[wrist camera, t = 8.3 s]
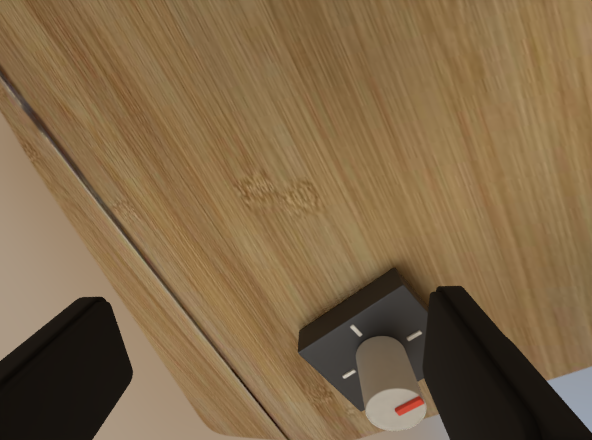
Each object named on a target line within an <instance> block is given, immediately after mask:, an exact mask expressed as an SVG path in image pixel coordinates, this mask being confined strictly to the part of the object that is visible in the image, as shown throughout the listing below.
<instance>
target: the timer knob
mask: <svg viewBox="0 0 592 440" xmlns="http://www.w3.org/2000/svg"><path fill="white" fill-rule="evenodd" d="M356 362H357V367H358V373H359V379H360V384H361V390H362V396H363V401H364V407H365V412H366V416H367V418H368V419H369V421H370V422H371V423H372V424H373V425H375V426H376V427H378V428H381V429H384V430H388V431H400V430H406V429H409V428H411V427H413V426H415V425H417V424H418V423H419V422H421V420H422V419H423V418H424V416H425V414H426V403H425V400H424V398H423V395H422V392H421V390H420V387H419V385H418V382H417V380H416V377H415V374H414V372H413V369H412V367H411V364H410V362H409V359H408V356H407V354H406V351H405V349H404V347H403V345H402V344H401V343H400V342H399V341H397V340H396V339H394V338H391V337H388V336H376V337H372V338H369V339H367V340H365V341H364V342H363V343H362V344H361V345H360V346H359V347H358V349H357V352H356Z"/></svg>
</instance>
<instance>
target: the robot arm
mask: <svg viewBox="0 0 592 440" xmlns="http://www.w3.org/2000/svg"><path fill="white" fill-rule="evenodd" d="M422 369H423V375H424V379H425V382H426V384H427V386H428V389H429V391H430V393H431V396H432V398H433V400H434V403H435V405H436V407H437V410H438V412H439V414H440V417H441V419H442V422H443V424H444V426H445V429H446V431H447V433H448V436H449V438H450V440H592V433H591V432H590V431H589V429H588V428H587V427H586V426H585V425H584V424H583V422H582V421H581V420H580V419H579V418H578V417H577V416H576V414H575V413H574V412H573V411H572V410H571V409H570V408H569V406H568V405H567V404H566V403H565V402H564V401H563V400H562V398H561V397H560V396H559V395H558V394H557V393H556V392H555V391H554V389H553V388H552V387H551V386H550V385H549V384H548V382H547V381H546V380H545V379H544V378H543V377H542V376H541V374H540V373H539V372H538V371H537V370H536V369H535V368H534V366H533V365H532V364H531V363H530V362H529V361H528V359H527V358H526V357H525V356H524V355H523V354H522V353H521V351H520V350H519V349H518V348H517V347H516V346H515V345H514V343H513V342H512V341H510V340H509V339H508V338H507V337H505V335H504V334H503V333H502V332H501V331H500V330H499V328H498V327H497V326H496V325H495V324H494V323H493V322H492V320H491V319H490V318H489V317H488V316H487V315H486V313H485V312H484V311H483V310H482V309H481V308H480V307H479V305H478V304H477V303H476V302H475V301H474V300H473V298H472V297H471V296H470V295H469V294H468V293H467V292H466V290H465V289H464V288H463V287H462V286H439V287H438V288H437V289H436V292H431V294H430V298H429V308H428V317H427V327H426V336H425V346H424V355H423V365H422ZM132 375H133V370H132V366H131V363H130V360H129V357H128V354H127V352H126V349H125V345H124V342H123V340H122V336H121V333H120V330H119V327H118V325H117V322H116V319H115V316H114V313H113V310H112V307H111V305H110V303H109V302H107V301H106V300H105V299H104V298H103V297H82V298H79V299H77V300H76V301H74V302H73V303H72V304H71V305H69V306H68V307H67V308H66V309H64V310H63V311H62V312H61V313H59V314H58V315H57V316H56V317H54V318H53V319H52V320H51V321H50V322H49V323H47V324H46V325H45V326H43V327H42V328H41V329H40V330H38V331H37V332H36V333H35V334H33V335H32V336H31V337H30V338H28V339H27V340H26V341H25V342H23V343H22V344H21V345H20V346H18V347H17V348H16V349H15V350H14V351H12V352H11V353H10V354H8V355H7V356H6V357H5V358H3V359H2V360H1V361H0V440H92V439H93V438H94V436H95V435H96V433H97V432H98V430H99V429H100V427H101V426H102V424H103V423H104V421H105V420H106V418H107V417H108V415H109V414H110V412H111V411H112V409H113V408H114V406H115V405H116V403H117V402H118V400H119V398H120V397H121V396H122V394H123V393H124V391H125V390H126V388H127V386H128V385H129V384H130V382H131V379H132Z"/></svg>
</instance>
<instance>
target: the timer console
mask: <svg viewBox="0 0 592 440" xmlns="http://www.w3.org/2000/svg"><path fill="white" fill-rule="evenodd" d="M428 308H429V307H428V306H427V305H426V303H425V302H424V301H423V300H422V299H421V298H420V296H419V295H418V294H417V293H416V292H415V291H414V289H413V288H412V287H411V286H410V285H409V284H408V282H407V281H406V280H405V279H404V278H403V276H402V275H401V274H400V273H399V272H398V271H397V269H396V268H393V269H391V270H390V271H388V272H387V273H385V274H384V275H382V276H381V277H380V278H378V279H377V280H375V281H374V282H372V283H371V284H369V285H368V286H366V287H365V288H363V289H362V290H360V291H359V292H357V293H356V294H354V295H353V296H351V297H350V298H348V299H347V300H345V301H344V302H342V303H341V304H339V305H338V306H336V307H335V308H333V309H332V310H330V311H329V312H327V313H326V314H324V315H323V316H321V317H320V318H318V319H317V320H315V321H314V322H312V323H311V324H309V325H308V326H306V327H305V328H303V329H302V330H300V331H299V342H298V353H299V354H300V355H301V356H302V357H303V358H304V359H305V360H306V361H307V362H308V363H309V364H310V365H311V366H312V367H314V368H315V369H316V370H317V371H318V372H319V373H320V374H321V375H322V376H323V377H324V378H325V379H326V380H327V381H328V382H330V383H331V384H332V385H333V386H334V387H335V388H336V389H337V390H338V391H339V392H340V393H341V394H342V395H343V396H345V397H346V398H347V399H348V400H349V401H350V402H351V403H352V404H353V405H354V406H355V407H356V408H357V409H358V410H360V411H363V410H365V407H364V401H363V396H362V390H361V384H360V379H359V373H358V367H357V362H356V352H357V349H358V347H359V346H360V345H361V344H362V343H363V342H364V341H365V340H367V339H369V338H372V337H376V336H388V337H391V338H394V339H396V340H397V341H399V342H400V343H401V344H402V345H403V347H404V349H405V351H406V354H407V356H408V359H409V362H410V364H411V367H412V369H413V372H414V374H415V377H416V380H417V382H418V381H420V380H421V379H423V378H424V375H423V369H422V365H423V355H424V346H425V336H426V327H427V317H428Z"/></svg>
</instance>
